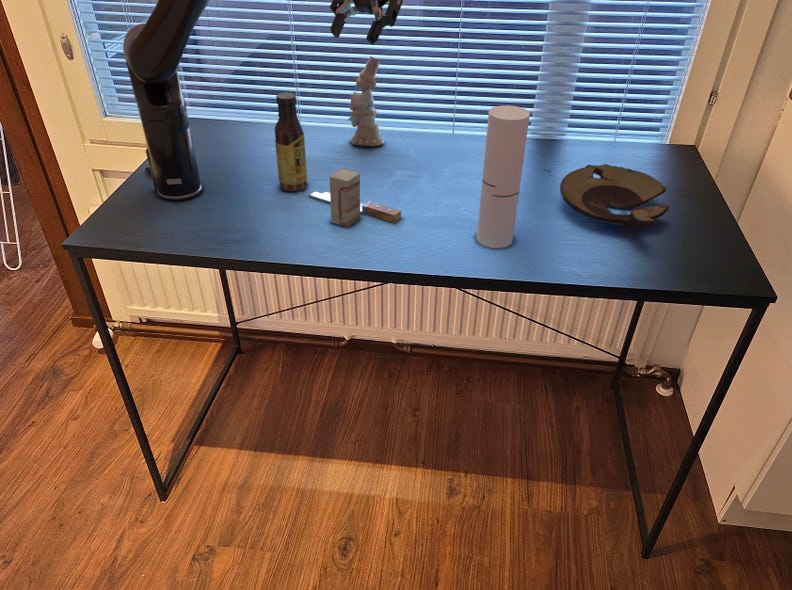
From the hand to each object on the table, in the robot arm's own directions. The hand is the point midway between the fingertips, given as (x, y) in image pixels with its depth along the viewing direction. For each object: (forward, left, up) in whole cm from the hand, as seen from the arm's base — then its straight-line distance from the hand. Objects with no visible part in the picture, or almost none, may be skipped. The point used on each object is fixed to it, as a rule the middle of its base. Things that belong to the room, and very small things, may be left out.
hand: (351, 38), depth 130 cm
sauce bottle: (-11, -9, -31) cm, 34 cm away
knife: (+6, -9, -31) cm, 33 cm away
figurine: (-12, +21, -31) cm, 39 cm away
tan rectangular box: (+8, -15, -31) cm, 35 cm away
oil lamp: (+53, +17, -31) cm, 64 cm away
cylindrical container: (+37, -5, -31) cm, 48 cm away
